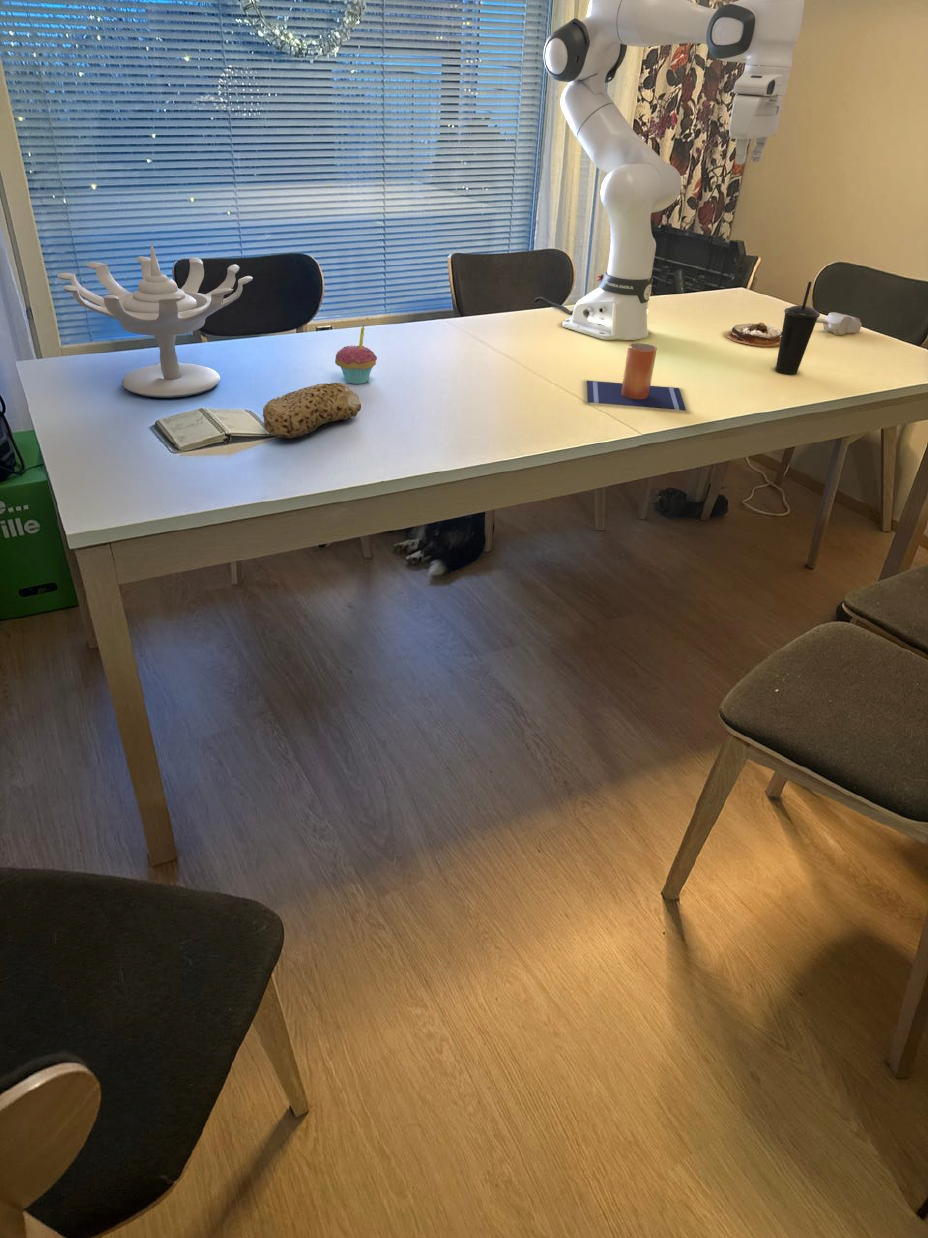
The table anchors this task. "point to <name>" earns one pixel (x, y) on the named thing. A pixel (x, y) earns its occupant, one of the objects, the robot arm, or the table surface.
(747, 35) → the robot arm
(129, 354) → the table surface
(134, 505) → the table surface
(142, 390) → the candelabra
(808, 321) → the drinking cup
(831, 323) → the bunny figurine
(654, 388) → the cloth
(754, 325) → the round cake
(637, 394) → the tumbler
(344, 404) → the sponge
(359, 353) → the cupcake
